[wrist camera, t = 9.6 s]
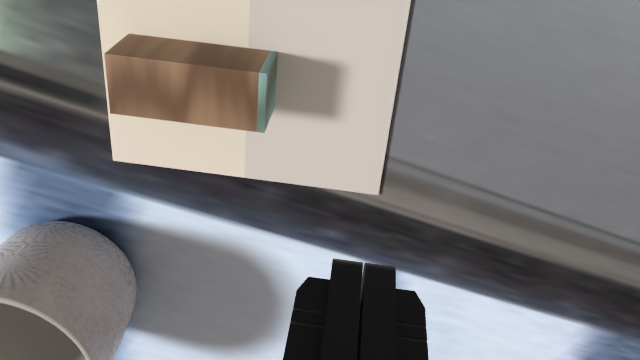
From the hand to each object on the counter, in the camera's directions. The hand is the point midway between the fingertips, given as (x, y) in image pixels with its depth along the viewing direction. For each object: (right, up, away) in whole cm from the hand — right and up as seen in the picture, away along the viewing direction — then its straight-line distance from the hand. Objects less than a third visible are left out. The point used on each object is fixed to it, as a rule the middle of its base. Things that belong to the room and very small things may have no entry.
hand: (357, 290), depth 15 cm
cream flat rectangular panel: (-6, +10, +26) cm, 29 cm away
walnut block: (-4, +8, +25) cm, 26 cm away
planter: (-21, -5, +37) cm, 43 cm away
